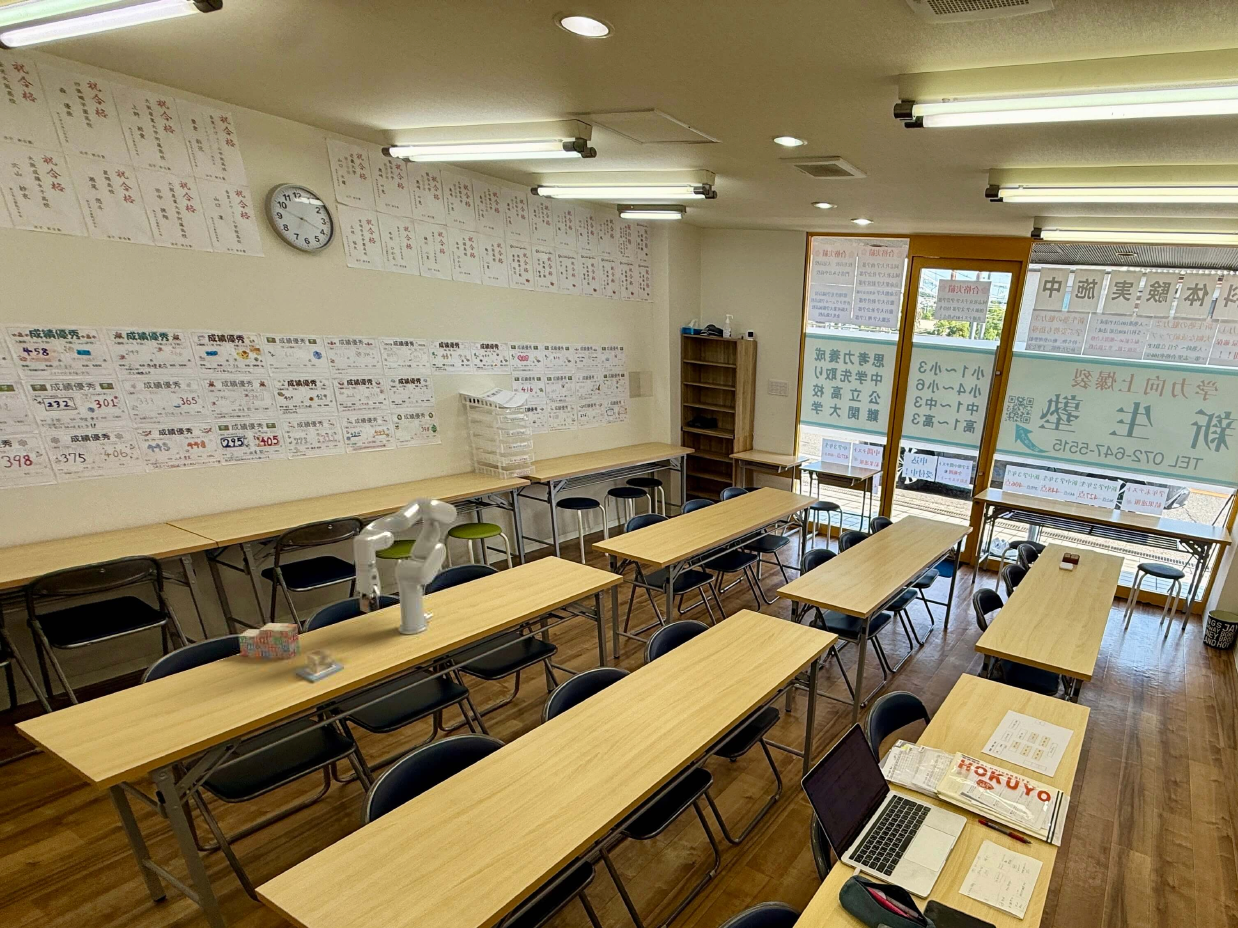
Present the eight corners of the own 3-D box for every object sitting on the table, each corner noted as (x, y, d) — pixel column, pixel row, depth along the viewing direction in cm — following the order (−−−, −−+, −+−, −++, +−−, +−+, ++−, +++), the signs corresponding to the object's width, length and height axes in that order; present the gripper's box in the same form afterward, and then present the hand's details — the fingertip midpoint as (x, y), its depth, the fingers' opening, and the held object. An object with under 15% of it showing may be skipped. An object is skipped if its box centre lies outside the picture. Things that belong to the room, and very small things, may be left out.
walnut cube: (371, 605, 238) (370, 594, 237) (379, 608, 235) (378, 597, 234) (360, 610, 234) (359, 598, 233) (367, 613, 231) (366, 601, 230)
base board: (327, 660, 232) (326, 657, 232) (344, 668, 225) (344, 665, 225) (296, 673, 222) (296, 670, 222) (313, 682, 215) (313, 679, 215)
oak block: (323, 662, 227) (322, 648, 226) (332, 666, 224) (331, 652, 223) (308, 669, 223) (307, 654, 222) (317, 673, 219) (315, 658, 218)
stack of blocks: (240, 657, 235) (237, 628, 233) (251, 649, 241) (248, 621, 239) (290, 659, 233) (287, 630, 231) (300, 651, 239) (297, 623, 237)
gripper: (387, 566, 230) (390, 610, 233) (362, 559, 239) (365, 600, 242) (370, 572, 224) (374, 616, 227) (344, 564, 233) (348, 607, 236)
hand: (369, 608), depth 234 cm, fingers closed on walnut cube, 5 cm apart
